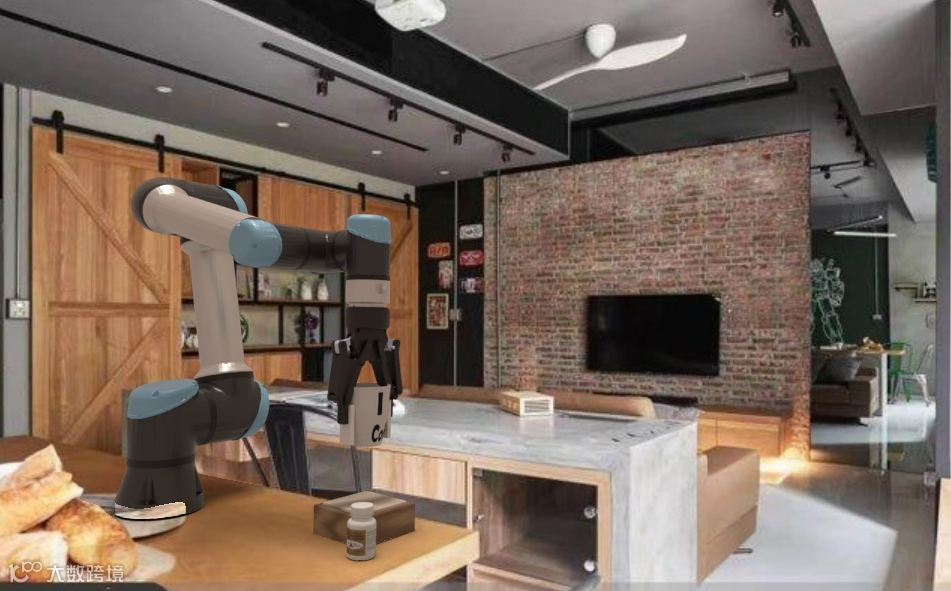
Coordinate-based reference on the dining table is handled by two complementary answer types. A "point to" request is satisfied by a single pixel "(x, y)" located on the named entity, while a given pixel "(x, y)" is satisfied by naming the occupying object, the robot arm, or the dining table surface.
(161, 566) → the dining table surface
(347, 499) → the pedestal
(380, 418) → the cup
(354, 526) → the pill bottle
